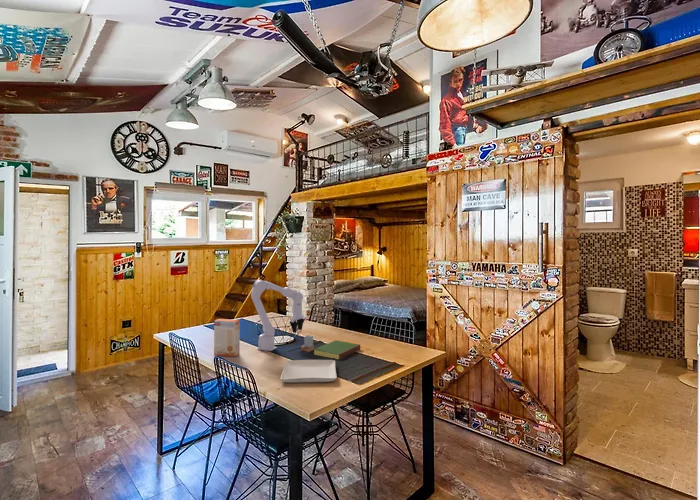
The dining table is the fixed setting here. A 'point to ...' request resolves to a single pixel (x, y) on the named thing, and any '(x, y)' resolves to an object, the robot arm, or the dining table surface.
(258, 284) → the robot arm
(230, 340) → the cracker box
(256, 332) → the dining table surface
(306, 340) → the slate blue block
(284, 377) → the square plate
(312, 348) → the walnut base block
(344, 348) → the hardcover book
